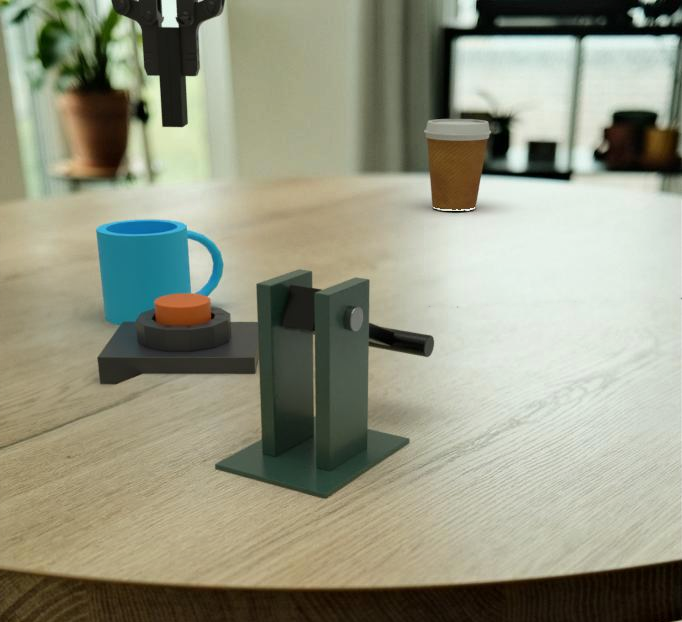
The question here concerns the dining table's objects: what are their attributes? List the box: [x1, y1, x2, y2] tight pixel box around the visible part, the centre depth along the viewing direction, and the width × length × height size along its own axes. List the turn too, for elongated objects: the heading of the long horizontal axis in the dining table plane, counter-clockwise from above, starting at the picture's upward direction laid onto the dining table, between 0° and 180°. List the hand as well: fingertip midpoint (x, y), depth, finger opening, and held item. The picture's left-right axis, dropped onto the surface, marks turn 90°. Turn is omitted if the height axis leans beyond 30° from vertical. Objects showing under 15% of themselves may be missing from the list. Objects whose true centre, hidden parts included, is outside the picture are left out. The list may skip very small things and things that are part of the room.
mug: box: [95, 218, 224, 326], centre depth 95 cm, size 12×8×8 cm
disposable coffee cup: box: [423, 118, 492, 210], centre depth 147 cm, size 10×10×12 cm
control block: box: [96, 306, 259, 385], centre depth 82 cm, size 12×10×4 cm
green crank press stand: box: [214, 268, 410, 499], centre depth 61 cm, size 10×8×12 cm
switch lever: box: [282, 285, 435, 358], centre depth 64 cm, size 12×6×2 cm, turn 148°
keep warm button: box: [154, 292, 212, 325], centre depth 81 cm, size 4×4×2 cm
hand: (175, 124), depth 75 cm, fingers closed
